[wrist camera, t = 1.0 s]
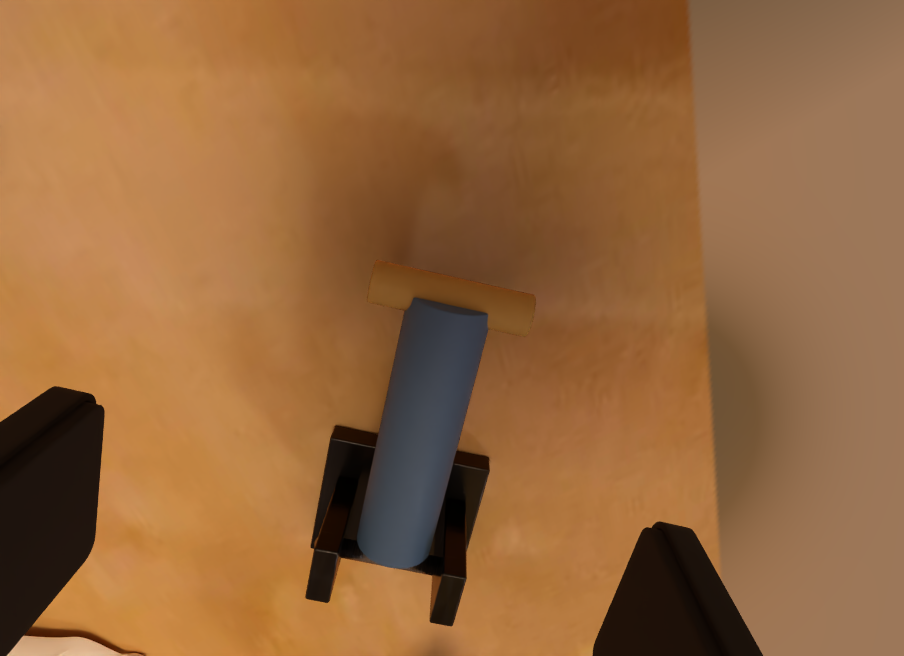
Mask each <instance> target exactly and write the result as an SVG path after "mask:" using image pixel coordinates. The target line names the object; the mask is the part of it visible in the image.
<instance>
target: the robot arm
mask: <svg viewBox="0 0 904 656" xmlns="http://www.w3.org/2000/svg"><path fill="white" fill-rule="evenodd" d="M103 428H104V408H103V406H101V405H98V404H96V400H95V397H94V396H93V395H92V394H89V393H85V392H80V391H76V390H71V389H67V388H63V387H56V386H54V387H52V388H50V389H48V390H47V391H45V392H44V393H42V394H41V395H40V396H38V397H37V398H35V399H34V400H32V401H31V402H29V403H28V404H26V405H25V406H23V407H22V408H20V409H19V410H18V411H16V412H15V413H13V414H12V415H10V416H9V417H7V418H6V419H4V420H3V421H1V422H0V656H7V655H8V654H9V653H10V651H11V650H12V649H13V648H14V647H15V645H16V644H17V643H18V642H19V640H20V639H21V638H22V637H23V636H24V634H25V633H26V632H27V631H28V630H29V628H30V627H31V626H32V625H33V624H34V622H35V621H36V620H37V619H38V617H39V616H40V615H41V614H42V613H43V611H44V610H45V609H46V608H47V607H48V605H49V604H50V603H51V602H52V601H53V599H54V598H55V597H56V596H57V595H58V593H59V592H60V591H61V590H62V588H63V587H64V586H65V585H66V584H67V582H68V581H69V580H70V579H71V578H72V576H73V575H74V574H75V573H76V572H77V570H78V569H79V568H80V567H81V566H82V564H83V563H84V562H85V560H86V559H87V558H88V556H89V554H90V552H91V550H92V547H93V544H94V541H95V533H96V520H97V507H98V494H99V481H100V468H101V454H102V441H103ZM593 656H763V655H762V653H761V651H760V649H759V647H758V646H757V644H756V642H755V640H754V638H753V637H752V635H751V633H750V631H749V629H748V628H747V626H746V624H745V622H744V621H743V619H742V617H741V615H740V613H739V611H738V610H737V608H736V606H735V604H734V602H733V601H732V599H731V597H730V596H729V594H728V592H727V590H726V588H725V586H724V585H723V583H722V581H721V579H720V577H719V576H718V574H717V572H716V570H715V568H714V567H713V565H712V563H711V561H710V559H709V558H708V556H707V554H706V552H705V550H704V549H703V547H702V545H701V543H700V541H699V540H698V538H697V536H696V534H695V533H694V531H693V530H692V529H690V528H687V527H682V526H678V525H673V524H669V523H664V522H660V521H659V522H656V523H655V524H654V525H653V526H652V528H648V527H647V528H644V529H643V530H642V532H641V534H640V536H639V539H638V541H637V543H636V546H635V548H634V550H633V553H632V555H631V558H630V560H629V562H628V565H627V567H626V569H625V572H624V574H623V576H622V579H621V581H620V584H619V586H618V588H617V591H616V593H615V595H614V598H613V600H612V603H611V605H610V607H609V610H608V612H607V614H606V617H605V619H604V621H603V624H602V626H601V629H600V631H599V633H598V636H597V638H596V640H595V644H594V648H593Z"/></svg>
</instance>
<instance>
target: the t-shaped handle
mask: <svg viewBox="0 0 904 656" xmlns="http://www.w3.org/2000/svg"><path fill="white" fill-rule="evenodd" d="M367 301H368V302H369V303H373V304H378V305H382V306H387V307H391V308H396V309H400V310H405V312H404V316H403V321H402V326H401V330H400V335H399V340H398V344H397V349H396V354H395V359H394V363H393V368H392V373H391V377H390V382H389V387H388V391H387V396H386V401H385V406H384V410H383V415H382V420H381V424H380V429H379V434H378V438H377V443H376V448H375V453H374V457H373V462H372V467H371V471H370V476H369V481H368V485H367V490H366V495H365V500H364V504H363V509H362V514H361V518H360V523H359V528H358V533H357V542H358V546H359V548H360V549H361V551H362V552H363V553H364V555H365V556H367V557H368V558H369V559H370V560H372V561H374V562H375V563H377V564H380V565H383V566H386V567H390V568H410V567H413V566H416V565H418V564H420V563H421V562H423V561H424V560H425V559H426V558H427V556H428V555H429V552H430V549H431V545H432V542H433V538H434V534H435V530H436V526H437V523H438V519H439V515H440V511H441V507H442V504H443V500H444V496H445V492H446V488H447V485H448V481H449V477H450V473H451V469H452V466H453V462H454V458H455V454H456V450H457V447H458V443H459V439H460V435H461V431H462V428H463V424H464V420H465V416H466V412H467V409H468V405H469V401H470V397H471V393H472V390H473V386H474V382H475V378H476V374H477V371H478V367H479V363H480V359H481V355H482V352H483V348H484V344H485V340H486V336H487V333H488V329H491V330H496V331H500V332H505V333H509V334H514V335H518V336H523V337H526V336H527V334H528V333H529V330H530V328H531V325H532V322H533V318H534V313H535V306H536V297H535V296H534V295H532V294H527V293H523V292H518V291H514V290H510V289H505V288H501V287H496V286H492V285H487V284H483V283H478V282H474V281H470V280H465V279H461V278H456V277H452V276H447V275H443V274H438V273H434V272H430V271H425V270H421V269H416V268H412V267H407V266H403V265H398V264H394V263H389V262H385V261H381V260H376V262H375V264H374V267H373V271H372V275H371V279H370V284H369V289H368V296H367Z"/></svg>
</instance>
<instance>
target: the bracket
mask: <svg viewBox="0 0 904 656" xmlns="http://www.w3.org/2000/svg"><path fill="white" fill-rule="evenodd" d="M377 438H378V435H377V434H373V433H368V432H363V431H358V430H353V429H349V428H344V427H339V426H335V428H334V430H333V433H332V435H331V438H330V443H329V449H328V454H327V460H326V465H325V470H324V476H323V481H322V487H321V492H320V498H319V503H318V509H317V514H316V519H315V525H314V530H313V536H312V541H311V548H313V549H314V553H313V558H312V564H311V569H310V574H309V580H308V585H307V590H306V596H305V597H306V599H309V600H314V601H320V602H325V603H328V602H329V601H330V597H331V594H332V590H333V586H334V582H335V579H336V575H337V571H338V567H339V564H340V560H341V558H345V559H350V560H355V561H361V562H366V563H371V564H376V565H380V564H377V563H375V562H374V561H372V560H370V559H369V558H368V557H367V556H365V555H364V553H363V552H362V551H361V549H360V548H359V546H358V542H357V533H358V528H359V523H360V518H361V514H362V509H363V504H364V500H365V495H366V490H367V485H368V481H369V476H370V471H371V467H372V462H373V457H374V453H375V448H376V443H377ZM489 472H490V469H489V458H488V457H483V456H479V455H474V454H469V453H464V452H459V451H456V454H455V458H454V462H453V466H452V469H451V473H450V477H449V481H448V485H447V488H446V492H445V496H444V500H443V504H442V507H441V511H440V515H439V519H438V523H437V526H436V530H435V534H434V538H433V542H432V545H431V549H430V552H429V555H428V556H427V558H426V559H425V560H424V561H423V562H421V563H420V564H418V565H416V566H413V567H410V568H397V569H402V570H407V571H412V572H417V573H422V574H427V575H432V590H431V605H430V622H431V623H435V624H441V625H446V626H453V623H454V620H455V616H456V613H457V609H458V606H459V603H460V599H461V596H462V592H463V589H464V586H465V582H466V579H467V576H466V552H467V548H468V545H469V541H470V538H471V534H472V531H473V527H474V524H475V520H476V517H477V513H478V510H479V506H480V503H481V499H482V496H483V492H484V489H485V485H486V482H487V478H488V475H489ZM381 566H383V565H381Z"/></svg>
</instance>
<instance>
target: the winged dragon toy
mask: <svg viewBox="0 0 904 656" xmlns="http://www.w3.org/2000/svg"><path fill="white" fill-rule="evenodd" d="M7 656H143V655H141V654H138V653H131V654H120V653H117V652H115V651H113V650H111V649H109V648H107V647H105V646H103V645H101V644H99V643H97V642H94V641H92V640H89V639H86V638H82V637H57V638H56V637H35V636H23V637H22V638H21V639H20V640H19V642H18V643H17V644H16V645H15V647H14V648H13V649H12V650H11V651H10V653H9V654H8V655H7Z"/></svg>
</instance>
